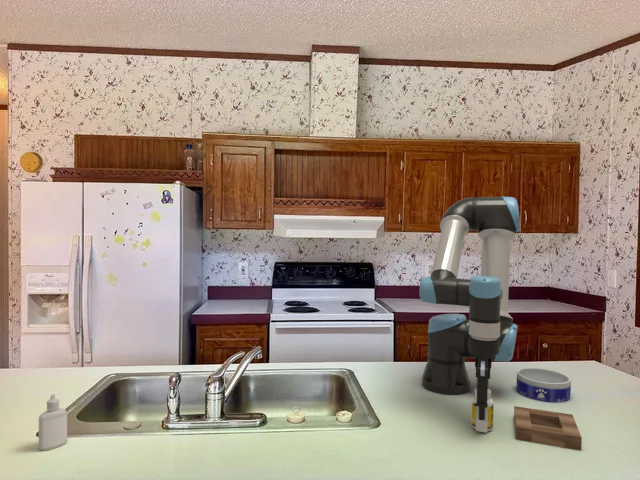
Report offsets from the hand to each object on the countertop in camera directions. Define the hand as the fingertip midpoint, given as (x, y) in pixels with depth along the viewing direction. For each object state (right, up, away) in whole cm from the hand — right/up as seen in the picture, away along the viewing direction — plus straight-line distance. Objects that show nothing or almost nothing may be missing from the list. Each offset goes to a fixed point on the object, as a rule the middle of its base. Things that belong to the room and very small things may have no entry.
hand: (481, 425), depth 116 cm
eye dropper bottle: (-104, 0, -12) cm, 104 cm away
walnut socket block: (+15, -1, -2) cm, 15 cm away
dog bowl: (+28, -1, +25) cm, 38 cm away
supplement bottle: (0, -1, 0) cm, 1 cm away
